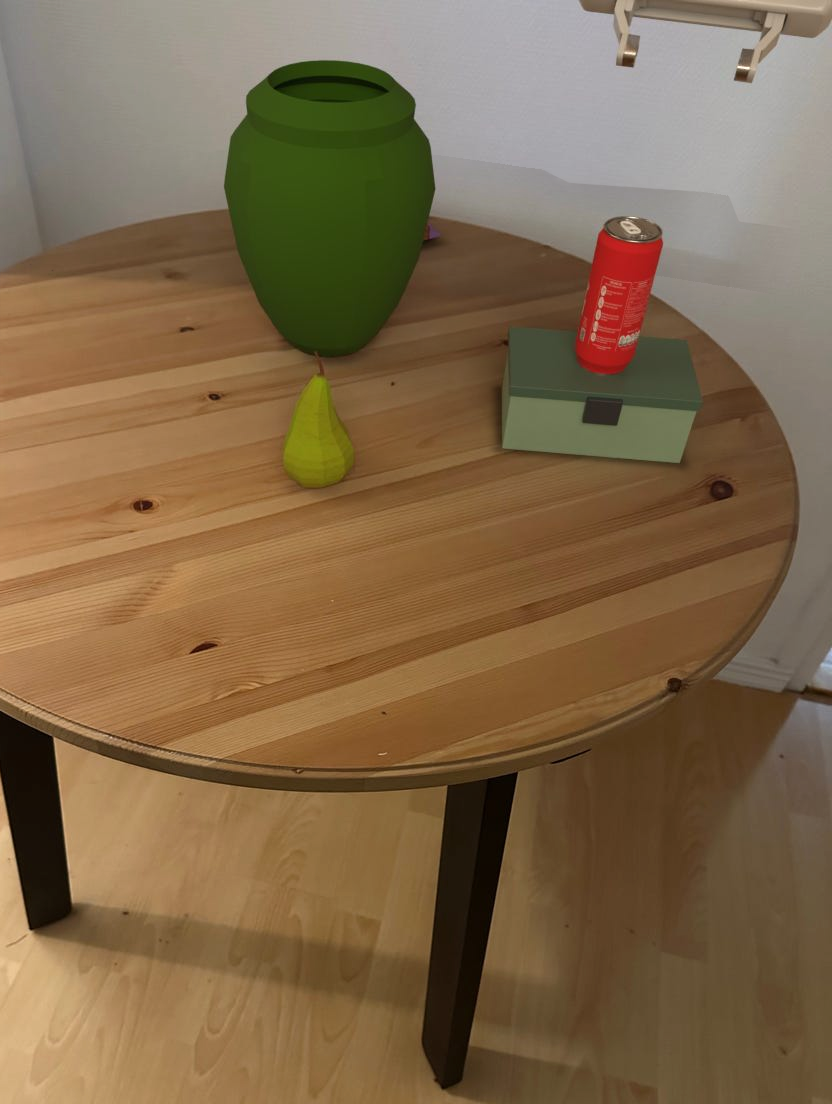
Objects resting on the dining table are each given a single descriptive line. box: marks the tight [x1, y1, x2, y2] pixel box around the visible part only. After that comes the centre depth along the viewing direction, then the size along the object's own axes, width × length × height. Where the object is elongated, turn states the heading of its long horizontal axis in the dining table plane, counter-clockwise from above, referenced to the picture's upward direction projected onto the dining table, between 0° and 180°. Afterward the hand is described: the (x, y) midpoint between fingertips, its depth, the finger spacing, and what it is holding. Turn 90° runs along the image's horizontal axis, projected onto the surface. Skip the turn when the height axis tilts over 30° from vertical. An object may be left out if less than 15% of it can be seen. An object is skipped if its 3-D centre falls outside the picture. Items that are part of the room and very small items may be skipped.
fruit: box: [282, 351, 355, 489], centre depth 81 cm, size 6×6×12 cm
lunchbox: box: [501, 326, 704, 464], centre depth 90 cm, size 16×11×7 cm
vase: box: [223, 59, 436, 357], centre depth 93 cm, size 20×20×24 cm
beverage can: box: [575, 215, 664, 375], centre depth 84 cm, size 5×5×12 cm
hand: (683, 70), depth 79 cm, fingers open, 8 cm apart
